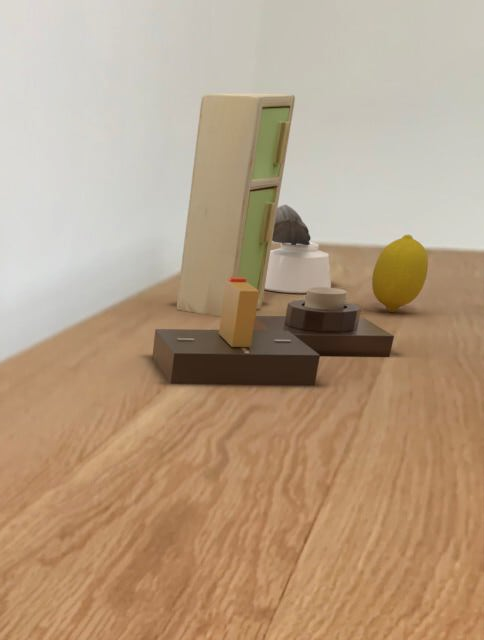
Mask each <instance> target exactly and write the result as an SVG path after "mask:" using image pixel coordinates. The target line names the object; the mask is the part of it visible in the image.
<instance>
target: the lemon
mask: <svg viewBox="0 0 484 640" xmlns="http://www.w3.org/2000/svg"><path fill="white" fill-rule="evenodd" d="M428 259H429V258H428V254H427V250H426V249H425V246H423V244H421V242H420V241H418V240H416V239H414V238H413V235H411V234H404V235H403V236H402V237H401V238H398V239H394V240H393V241H391V242H390V243H389V244H387V245H386V246H385V247H384V248H383V249H382V250H381V252H380V254H379V255H378V258H377V260H376V262H375V265H374V268H373V271H372V279H371V281H372V283H371V287H372V291H373V295H374V297H375V298H376V300H377V301H378V302H380V303H381V304H382V305H383V306H384V307H385V308H386V310H387V311H388V312H389V313H395V312H396V311H398V310H399V309H400V308H401V307H404V306H406V305H408V304H410V303H412V302H413V301H414V300H415V299H416V298H417V297H418V296H419V294H420V293H421V291H422V289H423V288H424V285H425V282H426V280H427V276H428V269H429V267H428V265H429V260H428Z"/></svg>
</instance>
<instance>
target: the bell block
mask: <svg viewBox="0 0 484 640" xmlns="http://www.w3.org/2000/svg"><path fill="white" fill-rule="evenodd" d="M305 300H306V298H305V299H297V300H292V301H290V302H288V303H287V306H286V311H285V315H256V316H255V322H254V329H253V330H268V331H289V332H291V333H292V334H293V335H295V336H296V337H297V338H298V339H300V340H301V341H302V342H304V343H305V344H306V345H307V346H309V347H310V348H311V349H313V350H314V351H315V352H317V353H318V354H319V355H320V357H336V358H337V357H339V358H342V357H343V358H352V357H353V358H390V356H391V353H392V347H393V343H394V338H395V335H393V334H392V333H390V332H388V331H387V330H385V329H383V328H381V327H380V326H379V325H377V324H375V323H374V322H372V321H370V320H368V319H367V318H365V317H363V316H361V312H362V307H360V306H359V305H357V304H355V303H351V302H346V301H345V305H344V309H338V310H324V309H314V308H309V307H304V305H305Z"/></svg>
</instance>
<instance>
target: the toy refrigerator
mask: <svg viewBox="0 0 484 640" xmlns="http://www.w3.org/2000/svg"><path fill="white" fill-rule="evenodd" d="M295 103H296V96H295V94H291V93H290V94H289V93H288V94H286V93H252V92H224V93H204V94H203V95H202V97H201V102H200V108H199V118H198V126H197V134H196V142H195V151H194V159H193V167H192V176H191V185H190V193H189V201H188V208H187V217H186V225H185V232H184V233H185V235H184V242H183V250H182V258H181V266H180V275H179V281H178V282H179V283H178V289H177V298H176V309H177V311H182V312H188V313H193V314H194V313H195V314H201V315H205V316H206V315H207V316H212V317H218V318H219V317H220V318H221V313H222V305H223V298H224V291H225V284H226V280H228V277H244V278H245V279H246V282H247V283H249V284H250V285H252V286H253V287H254V288H256V289H257V290H259V296H258V303H257V309H256V310H258V309H261V308H262V305H263V302H264V295H265V282H266V276H267V269H268V263H269V256H270V251H271V250H272V244H273V241H272V238H273V231H274V225H275V219H276V213H277V208H278V207H279V200H280V195H281V188H282V184H283V183H282V182H283V175H284V169H285V163H286V157H287V151H288V147H289V146H288V145H289V139H290V133H291V126H292V120H293V114H294V109H295V108H294V107H295Z"/></svg>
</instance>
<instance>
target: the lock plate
mask: <svg viewBox="0 0 484 640" xmlns="http://www.w3.org/2000/svg"><path fill="white" fill-rule="evenodd" d="M152 349H153V350H152V356H151V358H152V359H153V361H154V362H155V364H156V366H158V368H159V369H160V370H161V372H162V373H163V375H164V377H165V378H166V379H167V381H168V382H169V383H170V384H171V385H226V386H227V385H233V386H235V385H237V386H299V387H300V386H305V387H307V386H308V387H310V386H311V387H312V386H313V387H314V386H315V385H316V381H317V380H316V379H317V374H318V369H319V363H320V358H321V356H320V355H319V354H318V353H317V352H315V351H314V350H313V349H311V348H310V347H309V346H307V345H306V344H305V343H304V342H302V341H301V340H300V339H298V338H297V337H296V336H295V335H293V334H292V333H291V332H289V331H268V330H253V335H252V342H251V347H250V348H249V347H231V346H230V345H229V344H228V343H227V342H226V341H225V340H224V339H223V338H222V337H221V336H220V335H219V329H185V328H183V329H179V328H177V329H175V328H155V329H154V337H153V348H152Z"/></svg>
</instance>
